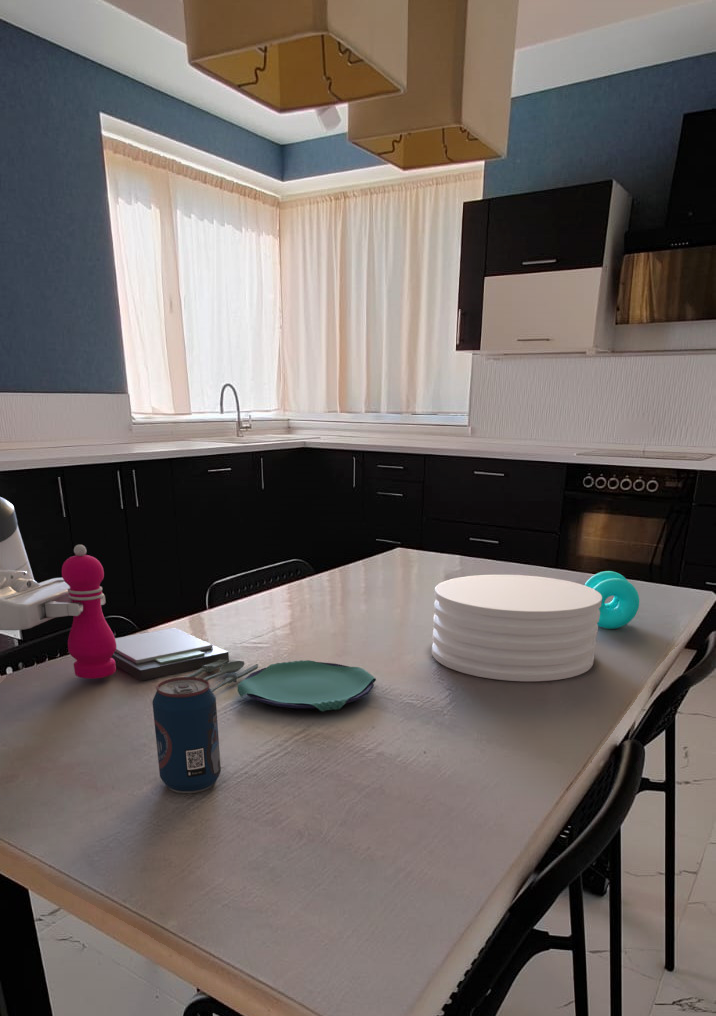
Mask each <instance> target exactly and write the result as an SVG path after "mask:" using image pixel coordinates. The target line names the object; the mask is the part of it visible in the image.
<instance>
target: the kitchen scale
mask: <svg viewBox="0 0 716 1016" xmlns="http://www.w3.org/2000/svg"><path fill="white" fill-rule="evenodd" d="M115 641H116V650H115V652H114V654H113V655H112V656H111V658H113V659H114V660H115V665H116V668H118V669H120V670H122V671H124V672H125V673H127V674H129V675H130V676H132V677H134V678H136V679H138V681H141V682H145V681H148V680H153V679H158V678H161V677H162V678H163V677H167V676H172V675H175V674H181V673H185V672H189V671H193V670H199V669H200V668H202V665H207V664H210V663H213V662H216V661H218V660H220V659H221V661H222V660H225V661H226V660H228V661H227V662H226V663H229V662H230V655H229V654H230V653H229V651H228V650H225V649H222V648H220V647H218V646H217V645H214V644H212V643H209V642H207V641H205V640H202V639H200V638H198V637H196V636H194V635H191V634H190V633H188V632H185V631H183V630H180V629H179V628H175V627H170V628H165V629H160V630H155V631H148V632H143V633H137V634H133V635H132V634H131V635H126V636H120V637H115Z"/></svg>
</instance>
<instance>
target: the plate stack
mask: <svg viewBox="0 0 716 1016" xmlns="http://www.w3.org/2000/svg"><path fill="white" fill-rule="evenodd" d="M434 598H435V601H434V603H433V612H434V615H433V621H432V623H433V624H432V626H433V630H432V644H431V654H432V657H433V659H434V660H435V661H436V662H438V663H439V664H440V665H442V666H444V667H446V668H448V669H450V670H453V671H456V672H459V673H461V674H465V675H470V676H473V677H478V678H483V679H488V680H489V679H490V680H497V681H498V680H499V681H507V682H508V681H509V682H548V681H549V682H550V681H558V680H563V679H570V678H573V677H578V676H581V675H583V674H585V673H587V672H588V671H589V670H591V669H592V668H593V665H594V660H595V655H594V653H595V651H596V646H597V640H596V639H597V636H598V630H599V626H598V625H597V623H598V622H599V617H600V610H599V608H600V607H601V603H602V595H601V594H600V593H599V592H598V591H596V590H594V589H592V588H590V587H587V586H585V584H581V583H578V582H574V581H570V580H565V579H559V578H553V577H545V576H537V575H525V574H523V575H522V574H479V575H478V574H477V575H467V576H460V577H454V578H450V579H446V580H444V581H441V582H439V583H438V584H437V585H435V587H434Z"/></svg>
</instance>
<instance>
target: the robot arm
mask: <svg viewBox="0 0 716 1016" xmlns="http://www.w3.org/2000/svg"><path fill="white" fill-rule="evenodd" d="M69 588H70V587H69V585H68V584H67V583H66V582H65V581H64V579H63V577H53V578H49V579H47V580H44V581H41V582H37V581H36V580H35V577H34V574H33V571H32V568H31V564H30V560H29V558H28V554H27V551H26V549H25V544H24V540H23V538H22V534H21V532H20V527H19V524H18V519H17V514H16V510H15V507H14V505H13V504H12V503H11V502H10V501H9V500H7V499H6V498H4V497H1V496H0V631H23V630H27V629H29V630H30V629H32V628H33V627H36V626H39V625H41V624H43V623H46V622H48V621H51V620H54V619H55V618H61V617H74V616H78V615H80V614H83V613H84V609H83V604H82V603H81V602H72V599H70V598H69V597H68V596H69V592H68V589H69ZM105 604H106V595H105V594H104V593H103V596H102V597H101V606H104V605H105Z"/></svg>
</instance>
